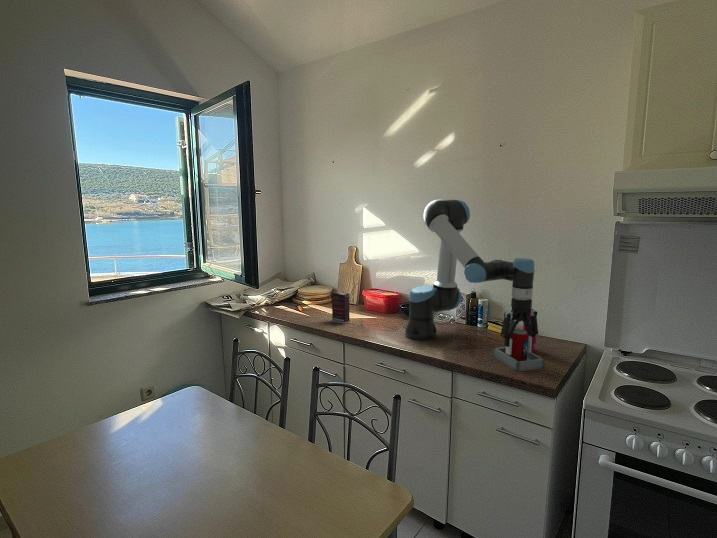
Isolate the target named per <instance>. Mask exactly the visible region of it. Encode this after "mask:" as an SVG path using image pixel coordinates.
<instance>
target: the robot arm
mask: <svg viewBox="0 0 717 538" xmlns="http://www.w3.org/2000/svg"><path fill="white" fill-rule="evenodd" d="M470 211H471V210H470V208H469V206H468V204H467V203H466V201H463V200H461V199H459V200H458V199H435V200H431V201H430V202H429V203H428V204H427V205H426V206H425V208H424V211H423V220H424V223H425V226H426V227H427V228H428V229H429V231H430V232H432V233H435V235H437V236H438V238H439V240H440V241H439V250H438V252H439V254H438V264H437V271H436V272H437V274H436V279H435V281H434V282H432V284H433V285H432V286H430V285H419V286H416V287H413V288H412V289H411V290H410V291H409V298H408V300H409V307H408V308H409V311H408V312H409V313H408V315H409V317H408V322H407V324H406V327H405V331H404V333H405V334H404V335H405V337H406V338H409V339H410V340H411V339H412V340H415V341H416V340H419V341H429V340H435V339H436V338H437V336H438V330H437V327H436V324H435V321H434V320H435V319H434V318H435V317H434V315H435V314H434V313H440V312H445V311H451V310H454V309H456V308H458V307H459V305H460V303H461V301H462V293H461V290H460V288H459V287H458V283H456V270H457V262H459V263H460V264H461V265H462V267H463V269H464V271H463V273H464V276H465V279H466V281H468V282H469V283H473V284H475V283H477V284H478V283H484V282H492V281H500V280H505V281H510V282H512V284H511V286H512V287H511V300H510V301H511V302H510V303H511V304H510V305H511V311H510V312H507V311H505V312H504V313H503V318H504V319H503V322H502V327H501V331H500V337H501V338H504V347H506V352H505V353H507V354H508V355H511V351H512V339H511V336H512V334H513V332H514V330H516V327H517V325H519V323H520V322H522V321H523V322H524V325H525V327H526V330H527V333H528V335H529V341H528V352H529V353H532V352H531V346H532V344H533V337H536V336H538V335H539V328H538V327H539V326H538V318H537V316H538V311H536V310H535V309H533V306H532V305H533V299H532V298H533V294H534V293H533V292H534V279H535V277H534V276H535V272H536V271H535V261H534V259H531V258H527V257H526V258H523V257H517V258H514V260H513V261H509V260H508V261H507V260H502V259H492V260H491V261H488V262H486V261H484V259H482V257H481V256H479V254H478V253H477V252H476V251H475V249H474V248H473V247H472V246H471V245H470V243H468V242H467V240H466V239H465V238H464V237H463V236H462V235H461V232H463V230H464V226H465V225H466V224H467V223H468V222H469V221H470V217H471V212H470ZM531 309H533V310H531ZM534 310H535V311H534ZM529 315H530V319H529ZM530 321H531V324H530ZM523 322H522V323H523ZM536 338H537V337H536Z"/></svg>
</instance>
